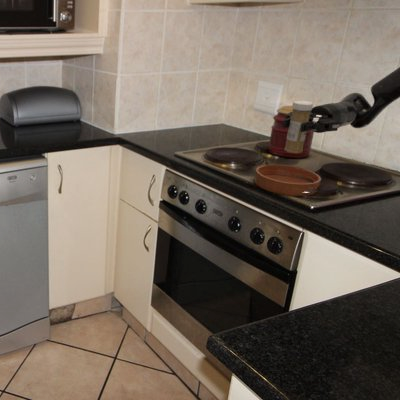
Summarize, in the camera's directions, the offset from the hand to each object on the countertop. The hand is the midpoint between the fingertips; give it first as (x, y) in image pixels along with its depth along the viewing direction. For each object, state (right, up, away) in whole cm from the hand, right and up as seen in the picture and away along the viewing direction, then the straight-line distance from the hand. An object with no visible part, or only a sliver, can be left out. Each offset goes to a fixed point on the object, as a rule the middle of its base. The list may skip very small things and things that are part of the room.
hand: (293, 125), depth 126 cm
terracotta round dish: (+2, -16, +8) cm, 18 cm away
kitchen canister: (+18, -4, +36) cm, 41 cm away
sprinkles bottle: (+2, -6, +4) cm, 8 cm away
